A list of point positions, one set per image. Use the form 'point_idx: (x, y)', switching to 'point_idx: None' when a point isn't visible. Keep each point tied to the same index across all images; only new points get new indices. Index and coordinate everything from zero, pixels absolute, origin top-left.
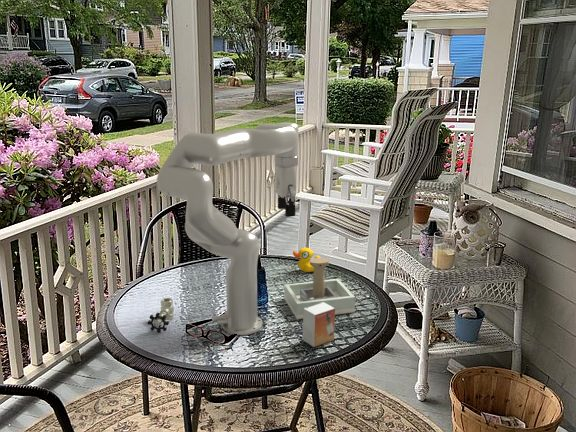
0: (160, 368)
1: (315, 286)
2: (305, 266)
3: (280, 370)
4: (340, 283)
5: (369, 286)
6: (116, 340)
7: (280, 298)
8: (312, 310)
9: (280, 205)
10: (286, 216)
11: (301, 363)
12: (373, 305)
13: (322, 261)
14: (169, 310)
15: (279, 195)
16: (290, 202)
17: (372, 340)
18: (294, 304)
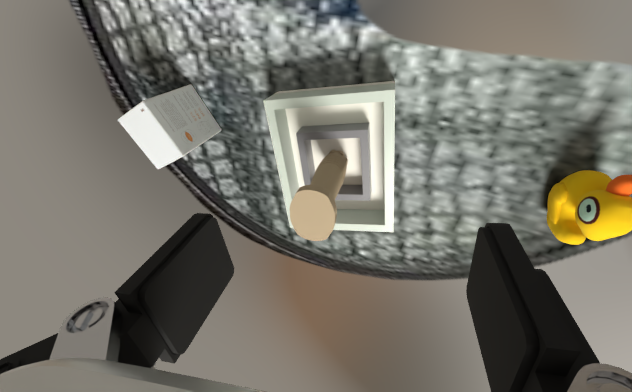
0: None
1: (318, 167)
2: (562, 188)
3: (84, 16)
4: (364, 227)
5: (406, 272)
6: None
7: (402, 69)
8: (136, 119)
9: (486, 266)
10: (199, 216)
11: (116, 63)
12: (322, 245)
13: (303, 222)
14: None
15: (128, 387)
16: (42, 348)
17: (203, 198)
18: (291, 95)
